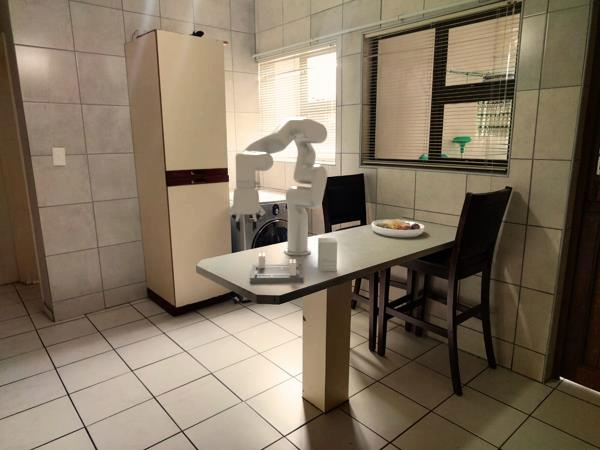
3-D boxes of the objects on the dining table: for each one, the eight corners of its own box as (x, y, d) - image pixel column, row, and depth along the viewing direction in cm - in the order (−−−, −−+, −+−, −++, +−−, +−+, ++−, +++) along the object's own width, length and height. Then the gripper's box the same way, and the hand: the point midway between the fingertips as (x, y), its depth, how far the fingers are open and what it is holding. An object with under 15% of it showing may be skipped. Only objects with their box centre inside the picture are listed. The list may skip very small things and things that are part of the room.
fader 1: (259, 264, 165) (259, 252, 164) (265, 264, 165) (265, 252, 164) (258, 268, 160) (258, 255, 159) (264, 268, 160) (264, 255, 159)
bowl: (360, 232, 237) (361, 218, 235) (390, 225, 256) (391, 213, 255) (404, 242, 215) (405, 227, 213) (433, 233, 235) (434, 220, 233)
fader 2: (289, 271, 157) (289, 258, 156) (295, 271, 157) (295, 258, 156) (289, 275, 152) (289, 262, 151) (296, 275, 152) (296, 262, 151)
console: (252, 269, 166) (252, 262, 166) (300, 269, 168) (300, 262, 167) (250, 283, 151) (250, 275, 150) (303, 282, 152) (303, 274, 151)
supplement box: (334, 266, 172) (335, 237, 169) (336, 271, 165) (337, 242, 162) (317, 266, 172) (318, 237, 169) (318, 271, 164) (319, 241, 162)
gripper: (268, 184, 159) (268, 228, 163) (224, 183, 158) (226, 228, 162) (267, 186, 152) (268, 233, 156) (222, 186, 151) (223, 233, 155)
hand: (246, 230), depth 159 cm, fingers open, 5 cm apart
